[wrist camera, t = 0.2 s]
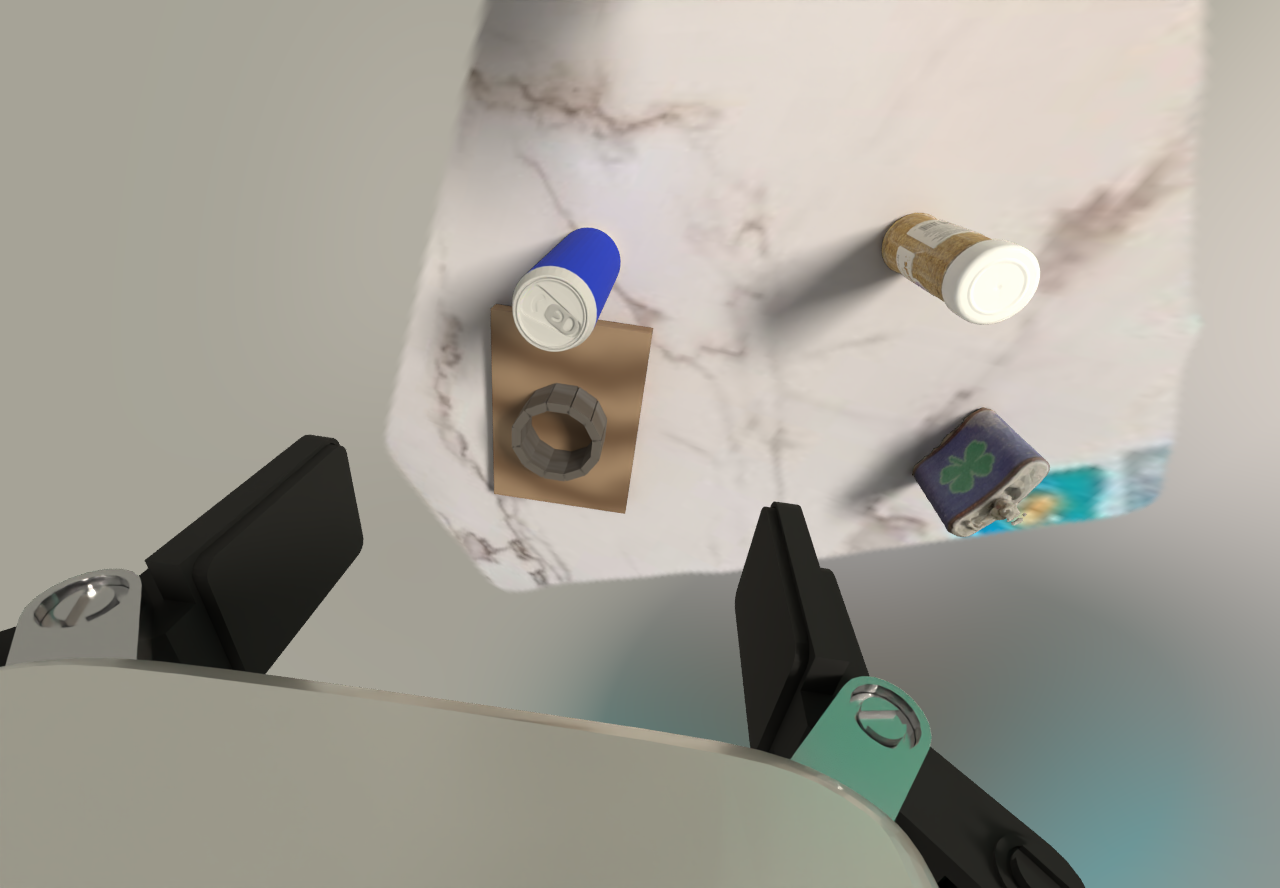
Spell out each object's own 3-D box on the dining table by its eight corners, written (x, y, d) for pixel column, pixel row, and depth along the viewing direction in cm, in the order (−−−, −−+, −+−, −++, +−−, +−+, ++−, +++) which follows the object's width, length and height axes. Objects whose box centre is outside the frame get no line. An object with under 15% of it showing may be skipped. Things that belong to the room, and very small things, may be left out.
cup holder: (496, 303, 46) (474, 324, 41) (653, 328, 46) (649, 350, 41) (498, 485, 56) (481, 517, 52) (626, 504, 56) (621, 539, 52)
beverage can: (548, 266, 44) (492, 323, 31) (580, 212, 42) (534, 250, 29) (599, 302, 45) (565, 372, 32) (633, 252, 43) (611, 306, 30)
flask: (981, 401, 47) (1051, 468, 38) (1004, 417, 48) (1079, 486, 39) (905, 472, 52) (951, 546, 43) (927, 485, 52) (977, 561, 43)
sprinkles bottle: (870, 265, 42) (940, 317, 31) (895, 205, 40) (981, 237, 28) (925, 277, 42) (1014, 334, 31) (953, 218, 40) (1061, 255, 28)
